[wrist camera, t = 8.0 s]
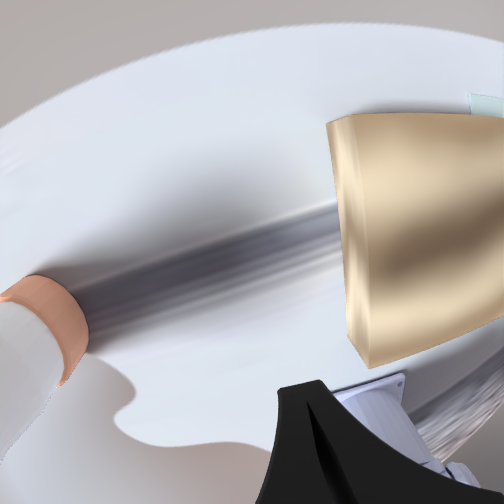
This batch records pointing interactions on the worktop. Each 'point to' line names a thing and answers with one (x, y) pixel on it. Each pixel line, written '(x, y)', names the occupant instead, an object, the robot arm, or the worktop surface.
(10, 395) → the salt shaker
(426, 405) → the worktop surface
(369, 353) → the tan flat block
